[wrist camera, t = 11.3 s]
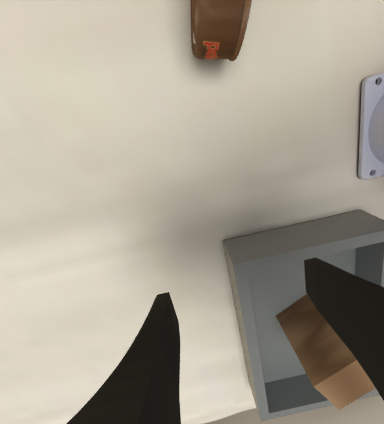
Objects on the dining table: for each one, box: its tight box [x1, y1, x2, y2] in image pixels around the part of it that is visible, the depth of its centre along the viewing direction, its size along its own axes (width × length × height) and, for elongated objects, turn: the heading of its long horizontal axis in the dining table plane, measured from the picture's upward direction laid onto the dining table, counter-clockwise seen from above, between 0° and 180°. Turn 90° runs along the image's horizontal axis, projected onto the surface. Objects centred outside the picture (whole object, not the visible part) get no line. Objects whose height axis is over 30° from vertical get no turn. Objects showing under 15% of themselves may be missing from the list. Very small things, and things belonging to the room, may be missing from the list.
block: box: [276, 294, 375, 409], centre depth 21 cm, size 4×4×7 cm
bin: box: [223, 210, 384, 421], centre depth 23 cm, size 13×20×4 cm, turn 12°
